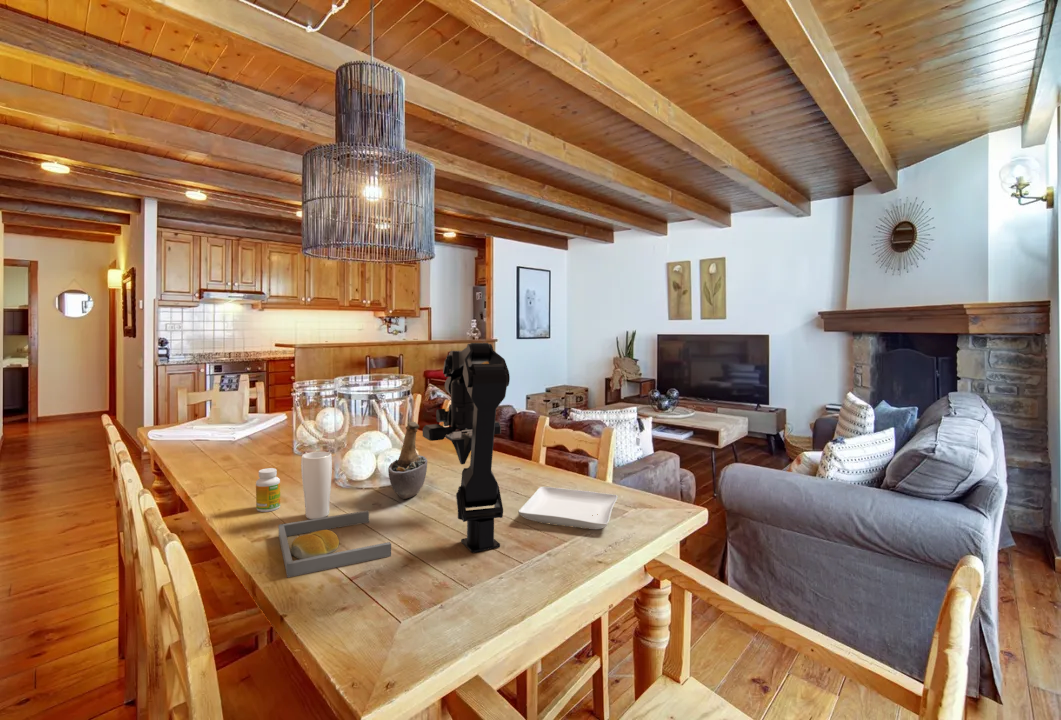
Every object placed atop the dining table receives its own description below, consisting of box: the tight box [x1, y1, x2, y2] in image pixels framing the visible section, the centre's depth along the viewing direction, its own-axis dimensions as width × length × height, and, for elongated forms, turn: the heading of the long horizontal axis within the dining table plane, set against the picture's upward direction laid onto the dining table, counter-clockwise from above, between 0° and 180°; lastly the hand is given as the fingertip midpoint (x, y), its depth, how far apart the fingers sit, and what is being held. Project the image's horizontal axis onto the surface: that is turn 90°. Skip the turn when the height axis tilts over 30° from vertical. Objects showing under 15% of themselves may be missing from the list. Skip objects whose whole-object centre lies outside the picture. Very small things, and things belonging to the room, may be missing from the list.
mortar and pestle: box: [387, 421, 428, 500], centre depth 141 cm, size 15×17×20 cm
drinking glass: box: [300, 451, 333, 520], centre depth 125 cm, size 7×7×15 cm
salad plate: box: [517, 486, 619, 530], centre depth 129 cm, size 21×21×3 cm
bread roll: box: [290, 529, 340, 560], centre depth 107 cm, size 8×9×4 cm
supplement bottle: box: [255, 467, 281, 513], centre depth 129 cm, size 5×5×10 cm
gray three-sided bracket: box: [278, 509, 392, 578], centre depth 109 cm, size 21×19×2 cm
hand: (462, 463), depth 129 cm, fingers closed
